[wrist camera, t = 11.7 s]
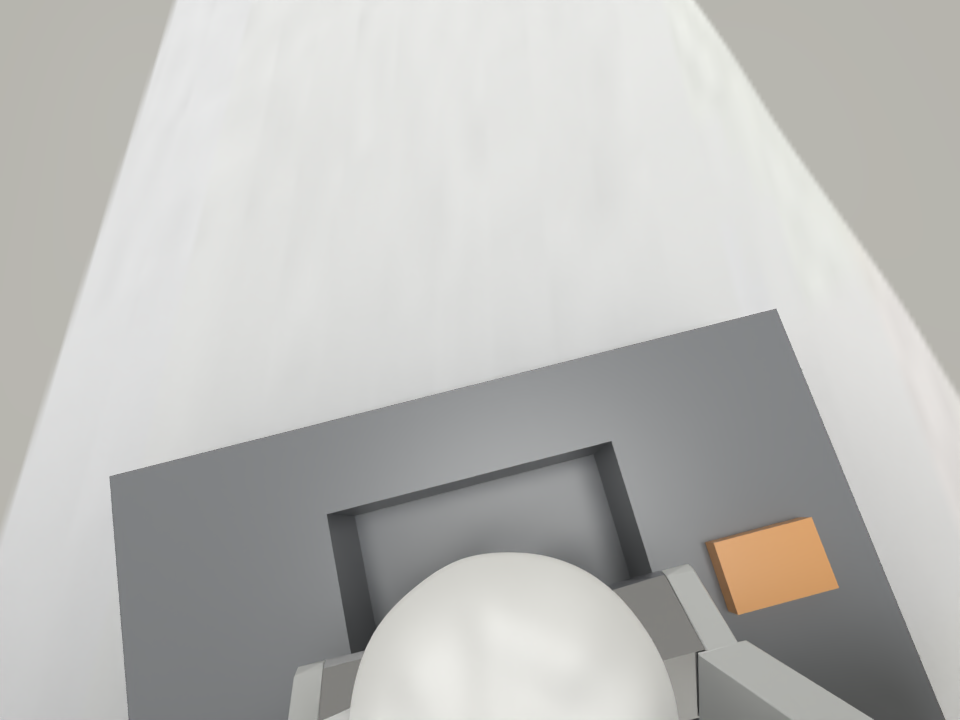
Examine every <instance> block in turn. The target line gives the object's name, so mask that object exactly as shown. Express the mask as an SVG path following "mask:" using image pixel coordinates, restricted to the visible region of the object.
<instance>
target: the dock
mask: <svg viewBox="0 0 960 720" xmlns="http://www.w3.org/2000/svg"><path fill="white" fill-rule="evenodd" d="M109 477H110V489H111V502H112V514H113V527H114V539H115V552H116V565H117V577H118V590H119V602H120V615H121V627H122V640H123V653H124V665H125V678H126V690H127V703H128V716H129V720H288V716H289V709H290V701H291V694H292V686H293V679H294V676H295V673H296V671H297V669H298V667H300V666H304V665H308V664H311V663H315V662H319V661H323V660H327V659H331V658H336V657H340V656H344V655H348V654H352V653H356V652H360V651H365V649H366V647H367V645H368V643H369V641H370V639H371V637H372V635H373V633H374V632H375V630H376V629H377V627H378V626H379V624H380V623H381V621H382V620H383V619H384V617H385V616H386V615H387V614H388V612H389V611H390V610H391V609H392V608H393V607H394V606H395V605H396V604H397V603H398V602H399V601H400V600H401V599H402V598H403V597H404V596H405V595H406V594H407V593H409V592H410V591H411V590H412V589H413V588H415V587H416V586H417V585H418V584H420V583H421V582H422V581H423V580H425V579H426V578H428V577H429V576H430V575H432V574H433V573H435V572H436V571H438V570H440V569H441V568H443V567H445V566H447V565H449V564H451V563H453V562H455V561H458V560H460V559H463V558H467V557H470V556H475V555H480V554H487V553H499V552H516V553H531V554H538V555H543V556H548V557H552V558H556V559H559V560H562V561H565V562H567V563H570V564H572V565H575V566H577V567H579V568H581V569H583V570H585V571H586V572H588V573H590V574H591V575H593V576H595V577H596V578H597V579H599V580H600V581H602V582H603V583H604V584H605V585H607V586H608V585H610V584H613V583H617V582H620V581H624V580H628V579H631V578H635V577H638V576H642V575H645V574H649V573H652V572H656V571H663V570H666V569H670V568H673V567H677V566H680V565H684V564H689V565H690V566H691V567H692V568H693V569H694V570H695V572H696V574H697V575H698V577H699V579H700V580H701V582H702V584H703V585H704V587H705V589H706V590H707V592H708V594H709V595H710V597H711V599H712V600H713V602H714V604H715V605H716V607H717V609H718V610H719V612H720V614H721V615H722V617H723V619H724V620H725V622H726V623H727V625H728V627H729V628H730V630H731V632H732V633H733V635H734V637H735V638H736V640H737V642H740V641H745V640H747V641H748V642H750V643H751V644H753V645H755V646H756V647H758V648H759V649H761V650H763V651H764V652H766V653H767V654H769V655H771V656H772V657H774V658H775V659H777V660H779V661H780V662H782V663H783V664H785V665H787V666H788V667H790V668H792V669H793V670H795V671H796V672H798V673H800V674H801V675H803V676H804V677H806V678H808V679H809V680H811V681H812V682H814V683H816V684H817V685H819V686H820V687H822V688H824V689H825V690H827V691H829V692H830V693H832V694H833V695H835V696H837V697H838V698H840V699H841V700H843V701H845V702H846V703H848V704H849V705H851V706H853V707H854V708H856V709H857V710H859V711H861V712H862V713H864V714H866V715H867V716H869V717H870V718H872V719H874V720H945V718H944V716H943V713H942V711H941V708H940V706H939V704H938V701H937V699H936V696H935V694H934V691H933V689H932V687H931V684H930V682H929V679H928V677H927V674H926V672H925V670H924V667H923V665H922V662H921V660H920V657H919V655H918V653H917V650H916V648H915V645H914V643H913V640H912V638H911V635H910V633H909V631H908V628H907V626H906V623H905V621H904V618H903V616H902V614H901V611H900V609H899V606H898V604H897V601H896V599H895V597H894V594H893V592H892V589H891V587H890V584H889V582H888V580H887V577H886V575H885V572H884V570H883V567H882V565H881V563H880V560H879V558H878V555H877V553H876V550H875V548H874V545H873V543H872V541H871V538H870V536H869V533H868V531H867V528H866V526H865V524H864V521H863V519H862V516H861V514H860V511H859V509H858V507H857V504H856V502H855V499H854V497H853V494H852V492H851V490H850V487H849V485H848V482H847V480H846V477H845V475H844V473H843V470H842V468H841V465H840V463H839V460H838V458H837V455H836V453H835V451H834V448H833V446H832V443H831V441H830V438H829V436H828V434H827V431H826V429H825V426H824V424H823V421H822V419H821V417H820V414H819V412H818V409H817V407H816V404H815V402H814V400H813V397H812V395H811V392H810V390H809V387H808V385H807V383H806V380H805V378H804V375H803V373H802V370H801V368H800V365H799V363H798V361H797V358H796V356H795V353H794V351H793V348H792V346H791V344H790V341H789V339H788V336H787V334H786V331H785V329H784V327H783V324H782V322H781V319H780V317H779V314H778V312H777V310H776V309H773V310H769V311H765V312H761V313H757V314H753V315H749V316H745V317H741V318H737V319H733V320H729V321H725V322H721V323H717V324H713V325H709V326H705V327H701V328H698V329H694V330H690V331H686V332H682V333H678V334H674V335H670V336H666V337H662V338H658V339H654V340H650V341H646V342H642V343H638V344H634V345H630V346H626V347H622V348H618V349H614V350H610V351H606V352H602V353H598V354H594V355H590V356H586V357H582V358H578V359H574V360H570V361H566V362H562V363H558V364H554V365H550V366H546V367H543V368H539V369H535V370H531V371H527V372H523V373H519V374H515V375H511V376H507V377H503V378H499V379H495V380H491V381H487V382H483V383H479V384H475V385H471V386H467V387H463V388H459V389H455V390H451V391H447V392H443V393H439V394H435V395H431V396H427V397H423V398H419V399H415V400H411V401H407V402H403V403H399V404H395V405H391V406H388V407H384V408H380V409H376V410H372V411H368V412H364V413H360V414H356V415H352V416H348V417H344V418H340V419H336V420H332V421H328V422H324V423H320V424H316V425H312V426H308V427H304V428H300V429H296V430H292V431H288V432H284V433H280V434H276V435H272V436H268V437H264V438H260V439H256V440H252V441H248V442H244V443H240V444H236V445H232V446H229V447H225V448H221V449H217V450H213V451H209V452H205V453H201V454H197V455H193V456H189V457H185V458H181V459H177V460H173V461H169V462H165V463H161V464H157V465H153V466H149V467H145V468H141V469H137V470H133V471H129V472H125V473H121V474H117V475H113V476H109ZM692 720H700V719H699V718H696V719H692Z"/></svg>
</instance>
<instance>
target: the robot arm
mask: <svg viewBox="0 0 960 720" xmlns="http://www.w3.org/2000/svg"><path fill="white" fill-rule="evenodd" d="M608 587H609V588H610V589H611V590H612V591H614V592H615V593H616V594H617V595H618V596H619V597H620V598H621V599H622V600H623V601H624V602H625V604H626V605H627V606H628V607H629V608H630V609H631V611H632V612H633V613H634V614H635V616H636V617H637V618H638V620H639V621H640V622H641V624H642V625H643V627H644V628H645V630H646V631H647V633H648V634H649V636H650V637H651V639H652V641H653V643H654V644H655V646H656V648H657V650H658V652H659V654H660V656H661V658H662V661H663V663H664V665H665V668H666V670H667V673H668V676H669V679H670V682H671V685H672V689H673V693H674V697H675V701H676V706H677V712H678V719H679V720H692V719H696V718H699V719H700V720H874V719H872V718H870V717H869V716H867V715H866V714H864V713H862V712H861V711H859V710H857V709H856V708H854V707H853V706H851V705H849V704H848V703H846V702H845V701H843V700H841V699H840V698H838V697H837V696H835V695H833V694H832V693H830V692H829V691H827V690H825V689H824V688H822V687H820V686H819V685H817V684H816V683H814V682H812V681H811V680H809V679H808V678H806V677H804V676H803V675H801V674H800V673H798V672H796V671H795V670H793V669H792V668H790V667H788V666H787V665H785V664H783V663H782V662H780V661H779V660H777V659H775V658H774V657H772V656H771V655H769V654H767V653H766V652H764V651H763V650H761V649H759V648H758V647H756V646H755V645H753V644H751V643H750V642H748V641H747V640H745V641H740V642H737V640H736V638H735V637H734V635H733V633H732V632H731V630H730V628H729V627H728V625H727V623H726V622H725V620H724V619H723V617H722V615H721V614H720V612H719V610H718V609H717V607H716V605H715V604H714V602H713V600H712V599H711V597H710V595H709V594H708V592H707V590H706V589H705V587H704V585H703V584H702V582H701V580H700V579H699V577H698V575H697V574H696V572H695V570H694V569H693V568H692V567H691V566H690V565H689V564H684V565H680V566H677V567H673V568H670V569H666V570H663V571H656V572H652V573H649V574H645V575H642V576H638V577H635V578H631V579H628V580H624V581H620V582H617V583H613V584H610V585H608ZM364 652H365V651H360V652H356V653H352V654H348V655H344V656H340V657H336V658H331V659H327V660H323V661H319V662H315V663H311V664H308V665H304V666H300V667H298V669H297V671H296V673H295V676H294V679H293V686H292V694H291V701H290V709H289V716H288V720H323V719H325V718H328V717H330V716H332V715H334V714H337V713H339V712H341V711H343V710H346V709H348V708H350V706H351V699H352V693H353V688H354V684H355V679H356V675H357V672H358V668H359V665H360V662H361V659H362V657H363V654H364Z"/></svg>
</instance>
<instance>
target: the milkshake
mask: <svg viewBox="0 0 960 720" xmlns="http://www.w3.org/2000/svg"><path fill="white" fill-rule="evenodd" d="M323 720H679V719H678V712H677V706H676V701H675V697H674V693H673V689H672V685H671V682H670V679H669V676H668V673H667V670H666V668H665V665H664V663H663V661H662V658H661V656H660V654H659V652H658V650H657V648H656V646H655V644H654V643H653V641H652V639H651V637H650V636H649V634H648V633H647V631H646V630H645V628H644V627H643V625H642V624H641V622H640V621H639V620H638V618H637V617H636V616H635V614H634V613H633V612H632V611H631V609H630V608H629V607H628V606H627V605H626V604H625V602H624V601H623V600H622V599H621V598H620V597H619V596H618V595H617V594H616V593H615V592H614V591H612V590H611V589H610V588H609V587H608V586H607V585H605V584H604V583H603V582H602V581H600V580H599V579H597V578H596V577H595V576H593V575H591V574H590V573H588V572H586V571H585V570H583V569H581V568H579V567H577V566H575V565H572V564H570V563H567V562H565V561H562V560H559V559H556V558H552V557H548V556H543V555H538V554H531V553H516V552H499V553H487V554H480V555H475V556H470V557H467V558H463V559H460V560H458V561H455V562H453V563H451V564H449V565H447V566H445V567H443V568H441V569H440V570H438V571H436V572H435V573H433V574H432V575H430V576H429V577H428V578H426V579H425V580H423V581H422V582H421V583H420V584H418V585H417V586H416V587H415V588H413V589H412V590H411V591H410V592H409V593H407V594H406V595H405V596H404V597H403V598H402V599H401V600H400V601H399V602H398V603H397V604H396V605H395V606H394V607H393V608H392V609H391V610H390V611H389V612H388V614H387V615H386V616H385V617H384V619H383V620H382V621H381V623H380V624H379V626H378V627H377V629H376V630H375V632H374V633H373V635H372V637H371V639H370V641H369V643H368V645H367V647H366V649H365V652H364V654H363V657H362V659H361V662H360V665H359V668H358V672H357V675H356V679H355V684H354V688H353V693H352V699H351V706H350V708H348V709H346V710H343V711H341V712H339V713H337V714H334V715H332V716H330V717H328V718H325V719H323Z"/></svg>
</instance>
